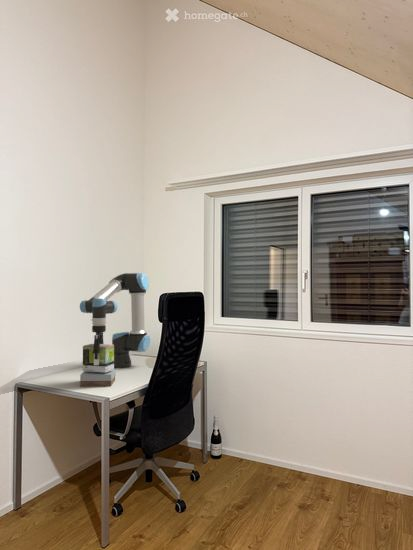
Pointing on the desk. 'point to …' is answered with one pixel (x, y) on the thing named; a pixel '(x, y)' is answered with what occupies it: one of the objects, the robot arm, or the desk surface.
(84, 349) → the tea box
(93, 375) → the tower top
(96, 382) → the tower base
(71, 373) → the desk surface
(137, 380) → the desk surface
